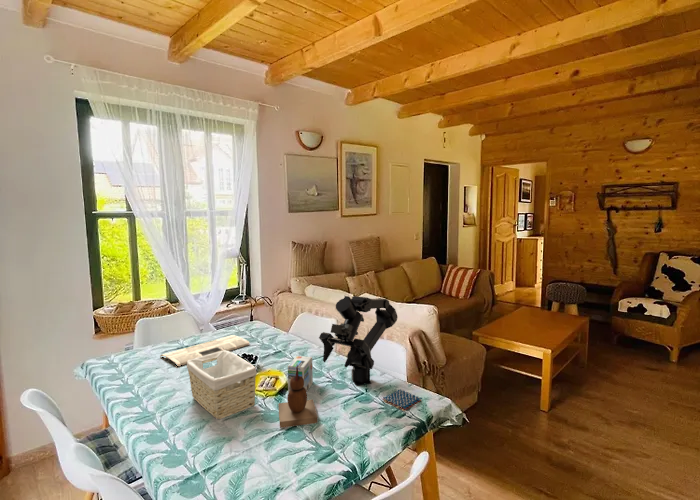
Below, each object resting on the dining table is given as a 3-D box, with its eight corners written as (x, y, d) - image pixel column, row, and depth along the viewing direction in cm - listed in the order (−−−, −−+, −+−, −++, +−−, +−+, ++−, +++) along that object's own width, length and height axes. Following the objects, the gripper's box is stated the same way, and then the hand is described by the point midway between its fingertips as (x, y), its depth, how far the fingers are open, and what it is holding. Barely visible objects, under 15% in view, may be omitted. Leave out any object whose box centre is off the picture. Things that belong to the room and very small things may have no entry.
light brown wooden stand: (313, 404, 137) (313, 399, 137) (317, 422, 126) (317, 417, 125) (278, 408, 135) (278, 403, 134) (279, 427, 123) (279, 421, 123)
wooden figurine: (294, 403, 134) (293, 361, 132) (309, 406, 132) (308, 363, 130) (285, 413, 128) (283, 369, 126) (300, 416, 126) (299, 371, 124)
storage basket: (259, 406, 137) (258, 366, 135) (215, 424, 126) (212, 380, 124) (228, 384, 154) (227, 348, 152) (187, 398, 143) (184, 359, 141)
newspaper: (177, 368, 171) (176, 362, 171) (159, 357, 184) (158, 352, 184) (249, 346, 198) (249, 340, 198) (229, 338, 211) (229, 333, 211)
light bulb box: (305, 395, 144) (304, 367, 143) (287, 393, 146) (286, 366, 144) (313, 382, 155) (312, 356, 154) (297, 381, 156) (296, 355, 155)
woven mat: (399, 392, 146) (399, 387, 146) (422, 402, 139) (422, 397, 138) (380, 402, 139) (380, 397, 139) (404, 413, 132) (404, 407, 131)
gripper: (321, 311, 146) (303, 348, 138) (364, 318, 136) (347, 359, 128) (333, 326, 153) (317, 362, 145) (375, 333, 143) (360, 373, 135)
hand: (334, 364), depth 138 cm, fingers open, 9 cm apart
